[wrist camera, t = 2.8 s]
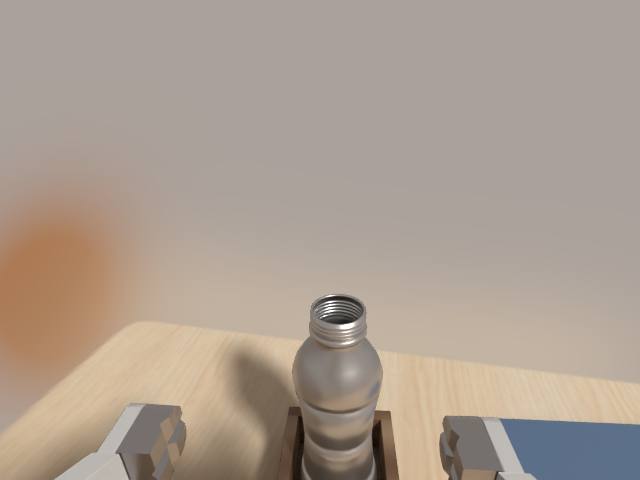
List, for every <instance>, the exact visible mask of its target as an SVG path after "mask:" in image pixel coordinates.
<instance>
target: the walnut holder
mask: <svg viewBox="0 0 640 480" xmlns="http://www.w3.org/2000/svg"><path fill="white" fill-rule="evenodd" d="M304 438H305V432H304V425H303V418H302V412H301V408H300V407H289V413H288V419H287V424H286V430H285V436H284V442H283V448H282V453H281V459H280V465H279V471H278V477H277V480H295V478H296V471H297V463H298V455H299V447H300V443H304ZM372 447H379V455H380V467H381V478H382V480H399V474H398V467H397V459H396V451H395V444H394V436H393V429H392V421H391V413H390V411H376V410H375V412H374V419H373V427H372Z"/></svg>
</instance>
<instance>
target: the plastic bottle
mask: <svg viewBox="0 0 640 480" xmlns="http://www.w3.org/2000/svg"><path fill="white" fill-rule="evenodd" d="M310 319H311V321H310V324H309V333H310V337H309V338H307V340H306V341H305V342H304V343H303V344H302V346H301V347H300V348H299V350H298V351H297V354H296V356H295V360H294V363H293V368H292V375H293V381H294V387H295V390H296V394H297V397H298V401H299V405H300V408H301V412H302V418H303V425H304V432H305V438H304V453H303V457H302V460H301V469H300V480H377V470H376V463H375V459H374V455H373V447H372V427H373V419H374V412H375V409H376V405H377V401H378V397H379V393H380V389H381V384H382V378H383V370H382V365H381V362H380V359H379V356H378V354H377V352H376V350H375V349H374V348H373V347H372V345H371V344H370V342H369V341H368V340H367V339H366V338H365V336H366V332H367V325H366V308H365V306H364V304H363V303H362V302H361V301H360V300H359V299H357V298H355V297H352V296H348V295H343V294H332V295H327V296H323V297H321V298H319V299H317V300H316V301H315V302H314V303H313V304H312V306H311V311H310Z"/></svg>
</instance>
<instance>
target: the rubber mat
mask: <svg viewBox="0 0 640 480" xmlns="http://www.w3.org/2000/svg"><path fill="white" fill-rule="evenodd" d="M499 420H500V421H501V423H502V425H503V427H504V430H505V432H506V434H507V436H508V438H509V440H510V443H511V445H512V447H513V449H514V451H515V453H516V456H517V458H518V460H519V462H520V464H521V466H522V469H523V471H524V473H529V474H531V475H532V476H533V477H534V478H536V479H537V480H640V425H633V424H611V423H588V422H565V421H543V420H520V419H499Z"/></svg>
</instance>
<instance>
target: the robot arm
mask: <svg viewBox="0 0 640 480" xmlns="http://www.w3.org/2000/svg"><path fill="white" fill-rule="evenodd" d="M181 415H182V411H181V408H180V406H171V405H156V404H139V403H131V404H130V405H129V406H127V407H126V408H125V410H124V411H123V413H122V415H121V416H120V418H119V419H118V421H117V422H116V424H115V425H114V427H113V428H112V430H111V431H110V433H109V434H108V436H107V437H106V439H105V440H104V442H103V443H102V445H101V446H100V448H99V449H98V451H97V452H92V453H90V454H89V455H87V456H86V457H85V458H83V459H82V460H80V461H79V462H78V463H76V464H75V465H73V466H72V467H71V468H69V469H68V470H66V471H65V472H64V473H62V474H61V475H60V476H58V477H57V478H55V479H54V480H170V479H171V477H172V474H173V472H174V470H173V466H172V463H173V462H174V461H176V460H177V459H178V458H179V457H180V456H181V453H182V451H183V448H184V445H185V440H186V426H185V423H184V422H183V421H181V420H180V417H181ZM443 428H444V432H443V433H442V434H440V441H439V446H440V457H441V462H442V466H443V470H444V471H445V472H446V473H447V474H448V475H449V479H448V480H537V479H536V478H534V477H533V476H532V475H531V474H529V473H524V471H523V469H522V466H521V464H520V462H519V460H518V458H517V456H516V453H515V451H514V449H513V447H512V445H511V443H510V440H509V438H508V436H507V434H506V432H505V430H504V427H503V425H502V423H501V421H500V420H499V419H498V418H495V417H478V416H445V417H444V419H443Z"/></svg>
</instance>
